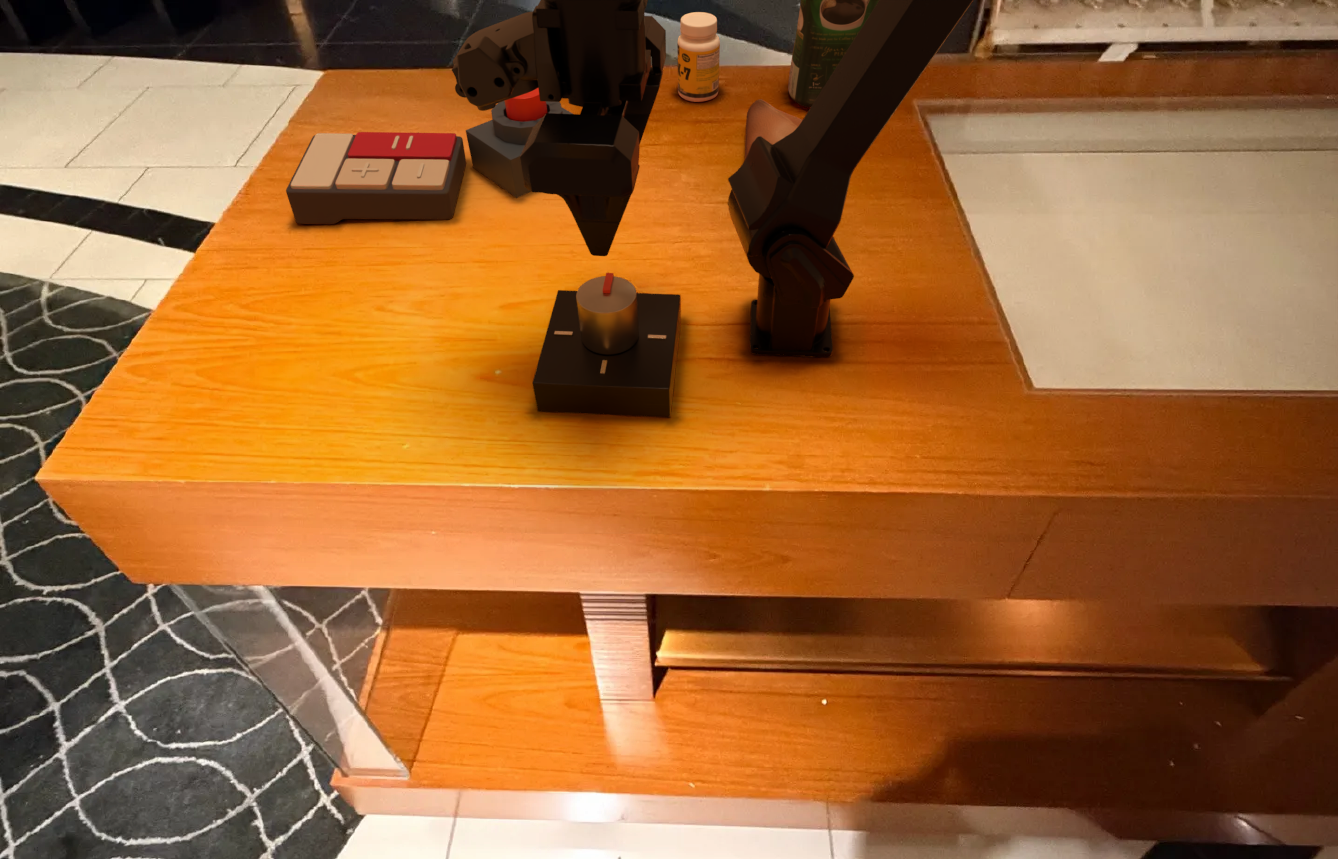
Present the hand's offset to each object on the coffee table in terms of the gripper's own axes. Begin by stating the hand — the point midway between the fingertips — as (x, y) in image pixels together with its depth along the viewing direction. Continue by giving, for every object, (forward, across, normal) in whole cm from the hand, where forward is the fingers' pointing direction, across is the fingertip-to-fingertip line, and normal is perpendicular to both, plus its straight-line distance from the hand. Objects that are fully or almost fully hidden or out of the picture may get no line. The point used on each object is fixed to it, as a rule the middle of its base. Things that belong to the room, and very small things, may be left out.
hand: (610, 215), depth 59 cm
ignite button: (+7, -28, -13) cm, 32 cm away
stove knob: (+10, +2, 0) cm, 10 cm away
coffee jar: (+13, -46, +18) cm, 51 cm away
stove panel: (+13, +2, 0) cm, 13 cm away
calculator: (+13, -22, -27) cm, 37 cm away
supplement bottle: (+13, -46, +2) cm, 47 cm away
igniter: (+13, -28, -13) cm, 34 cm away
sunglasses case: (+13, -29, +13) cm, 34 cm away
